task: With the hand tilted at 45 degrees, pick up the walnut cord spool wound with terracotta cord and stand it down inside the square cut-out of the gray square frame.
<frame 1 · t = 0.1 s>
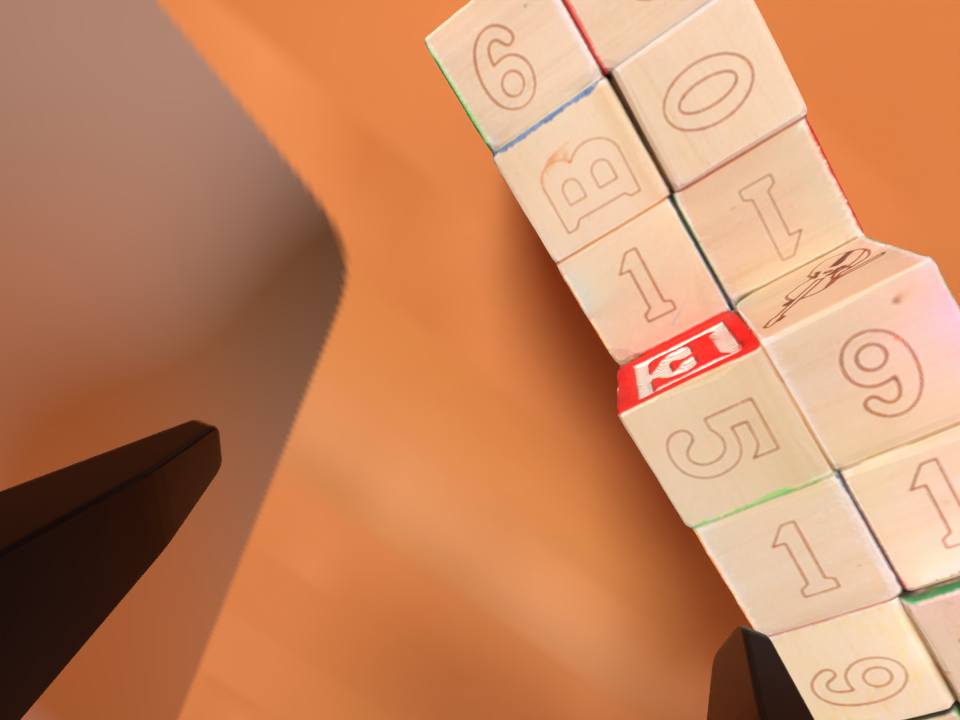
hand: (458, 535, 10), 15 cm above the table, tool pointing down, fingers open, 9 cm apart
stack of blocks: (711, 289, 23), on the table
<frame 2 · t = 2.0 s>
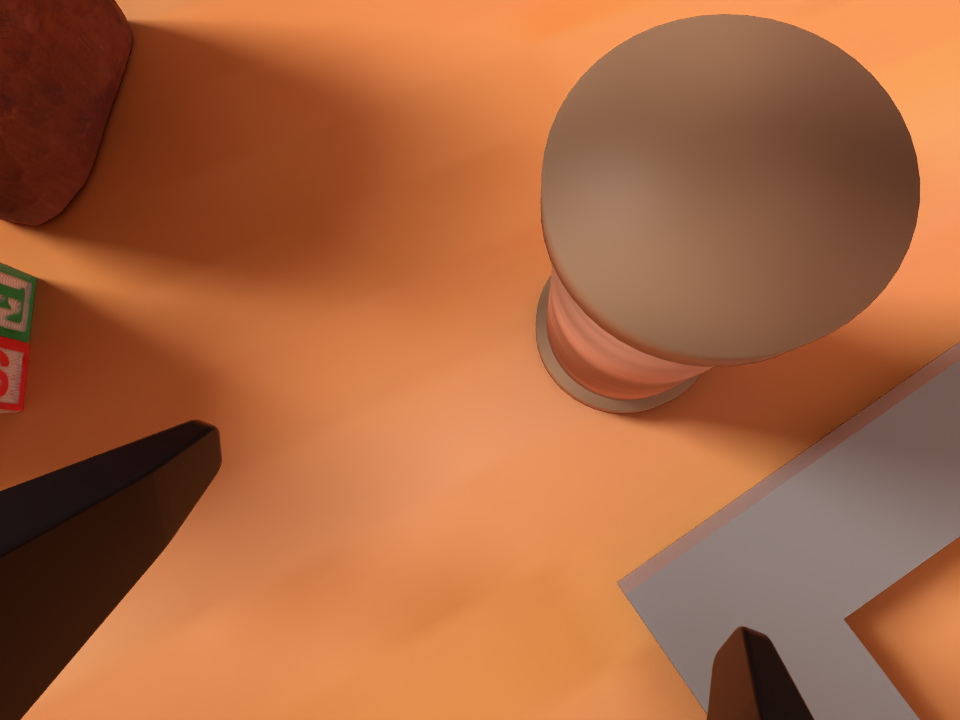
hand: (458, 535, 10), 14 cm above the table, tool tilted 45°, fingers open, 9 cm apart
wooden figurine: (63, 122, 28), on the table
cord spool: (620, 329, 24), on the table
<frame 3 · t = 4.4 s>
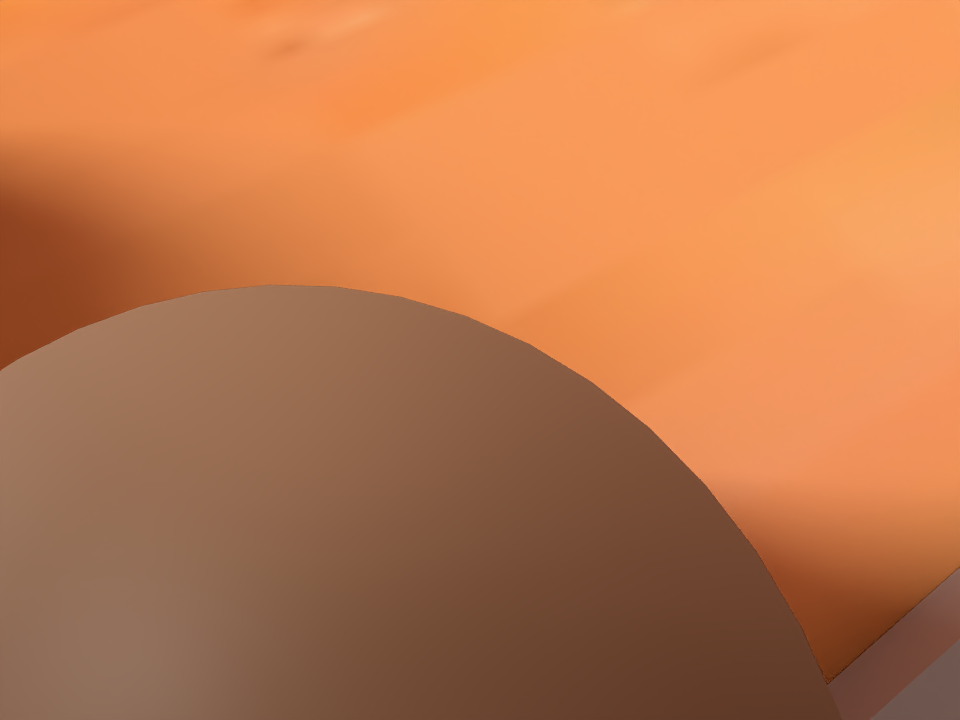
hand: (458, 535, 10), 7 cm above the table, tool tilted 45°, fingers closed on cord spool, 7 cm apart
cord spool: (466, 564, 16), on the table, touching gripper
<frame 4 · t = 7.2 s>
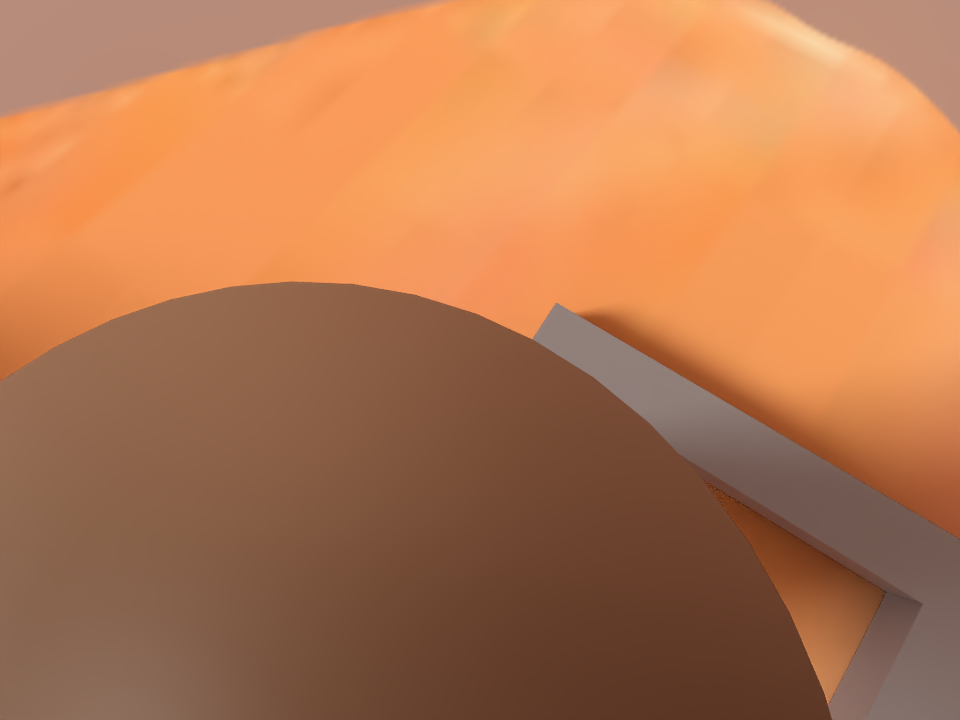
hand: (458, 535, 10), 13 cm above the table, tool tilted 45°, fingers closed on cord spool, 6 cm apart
gray square frame: (673, 636, 21), on the table
cord spool: (469, 568, 16), point 7 cm above the table, touching gripper
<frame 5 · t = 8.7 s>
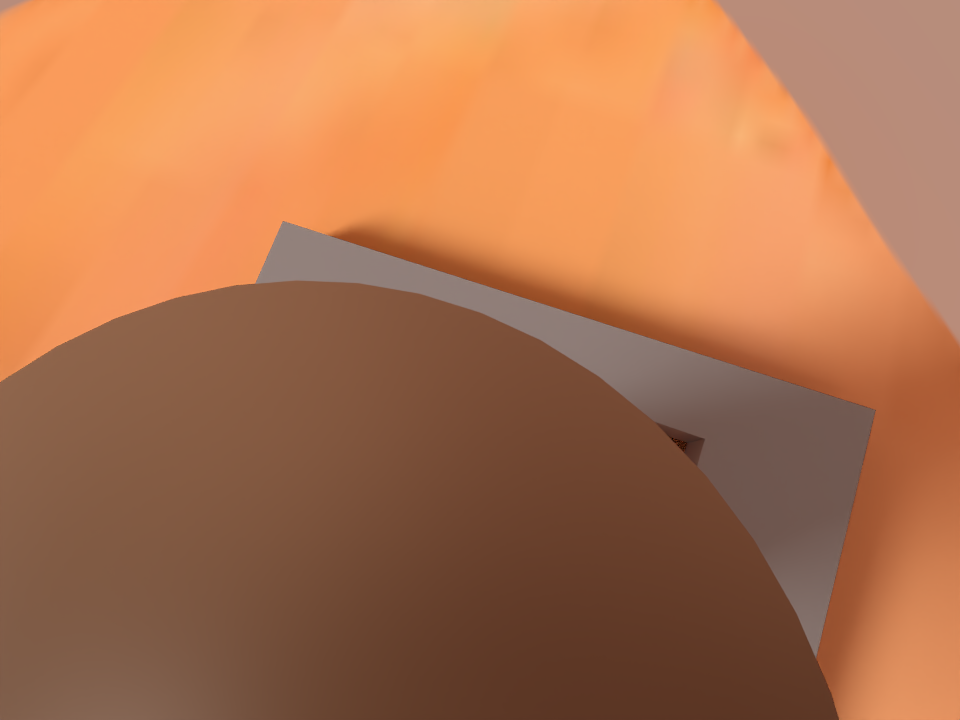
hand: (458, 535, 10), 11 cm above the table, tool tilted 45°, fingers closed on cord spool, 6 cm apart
gray square frame: (479, 543, 20), on the table
cord spool: (470, 568, 16), point 4 cm above the table, touching gripper
when the fingers open (8 cm above the table, at t = 9.7 s): cord spool drops 1 cm, resting in gray square frame.
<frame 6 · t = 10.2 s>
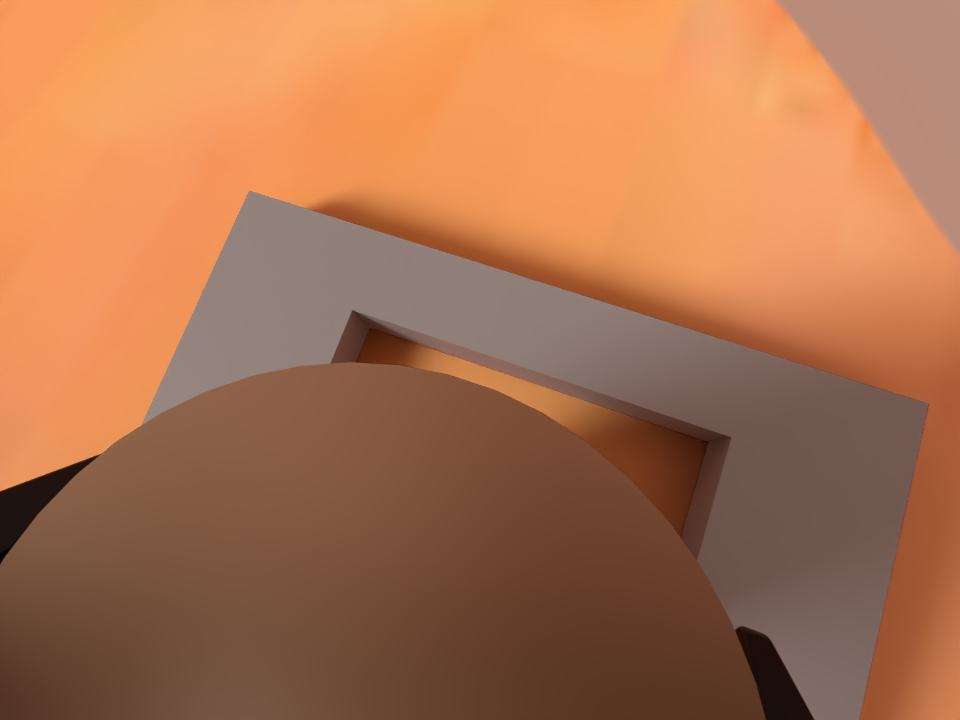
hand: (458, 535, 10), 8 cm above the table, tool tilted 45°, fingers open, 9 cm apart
gray square frame: (471, 557, 17), on the table
cord spool: (469, 563, 17), resting in gray square frame
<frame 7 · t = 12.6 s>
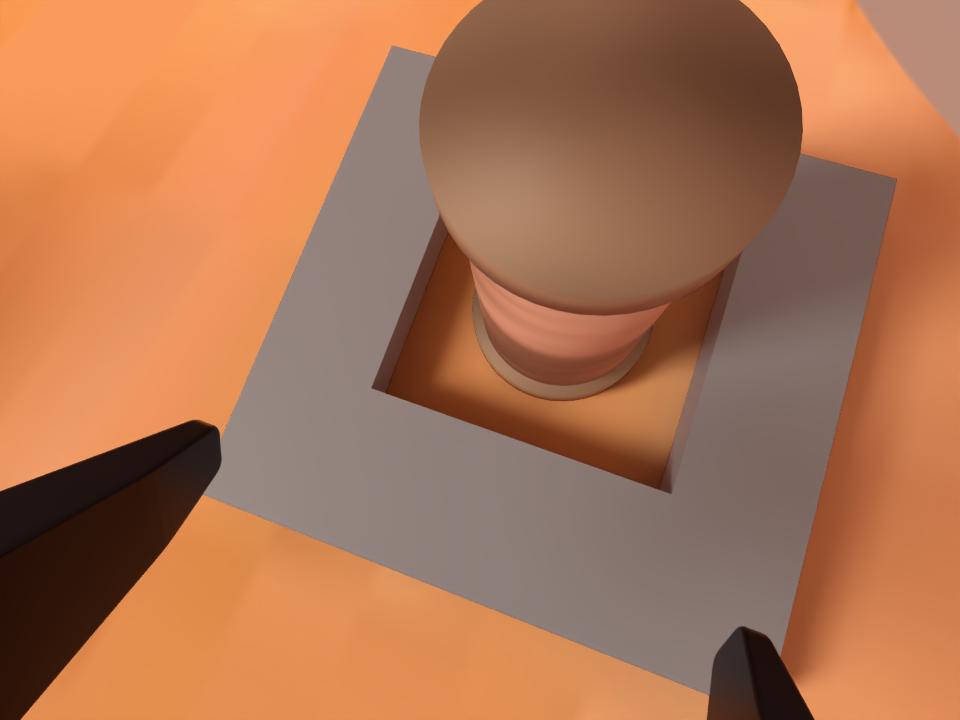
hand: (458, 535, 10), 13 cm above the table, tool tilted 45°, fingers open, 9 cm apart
gray square frame: (561, 311, 23), on the table
cord spool: (560, 316, 23), resting in gray square frame
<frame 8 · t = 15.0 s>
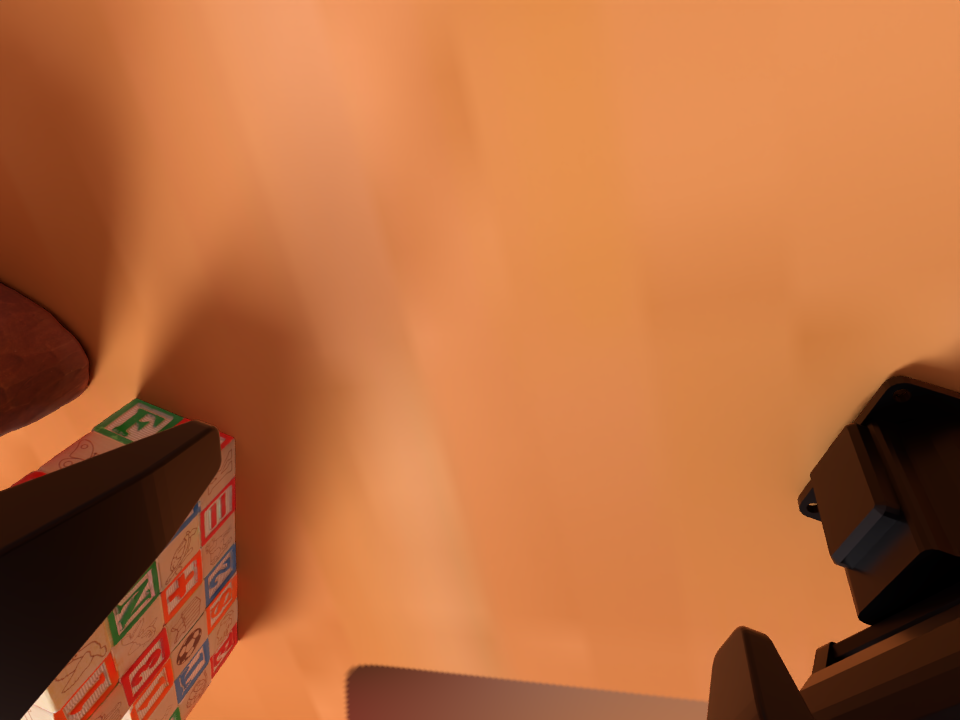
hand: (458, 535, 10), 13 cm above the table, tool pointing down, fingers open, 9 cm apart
stack of blocks: (198, 534, 38), on the table
wooden figurine: (10, 315, 32), on the table
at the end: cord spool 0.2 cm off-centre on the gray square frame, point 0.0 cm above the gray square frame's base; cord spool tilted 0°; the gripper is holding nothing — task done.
